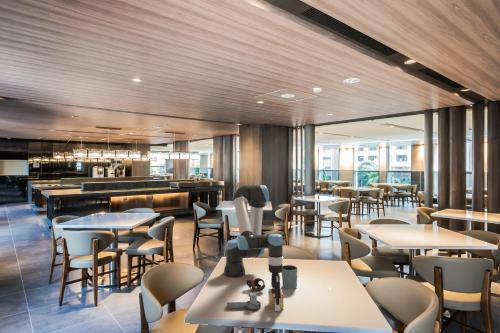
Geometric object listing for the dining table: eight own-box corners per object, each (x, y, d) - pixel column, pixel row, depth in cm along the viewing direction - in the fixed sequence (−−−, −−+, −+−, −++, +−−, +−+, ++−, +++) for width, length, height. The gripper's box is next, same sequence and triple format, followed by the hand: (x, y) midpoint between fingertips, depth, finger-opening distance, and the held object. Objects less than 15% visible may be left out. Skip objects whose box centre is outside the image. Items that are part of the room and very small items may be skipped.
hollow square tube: (268, 303, 161) (268, 289, 161) (281, 303, 161) (281, 288, 161) (270, 309, 154) (269, 294, 154) (283, 309, 154) (283, 294, 154)
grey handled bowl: (226, 304, 160) (226, 291, 160) (260, 303, 161) (260, 290, 161) (226, 311, 152) (226, 297, 152) (261, 310, 153) (261, 296, 153)
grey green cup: (297, 290, 178) (297, 270, 178) (280, 289, 180) (280, 269, 180) (297, 284, 188) (297, 265, 188) (281, 283, 190) (281, 264, 190)
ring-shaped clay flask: (265, 288, 184) (267, 279, 180) (261, 300, 176) (263, 291, 172) (246, 281, 186) (248, 272, 182) (242, 294, 178) (244, 284, 174)
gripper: (286, 271, 146) (286, 315, 146) (279, 257, 170) (279, 295, 170) (271, 271, 146) (271, 316, 145) (266, 257, 170) (266, 295, 170)
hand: (275, 304), depth 158 cm, fingers open, 12 cm apart
